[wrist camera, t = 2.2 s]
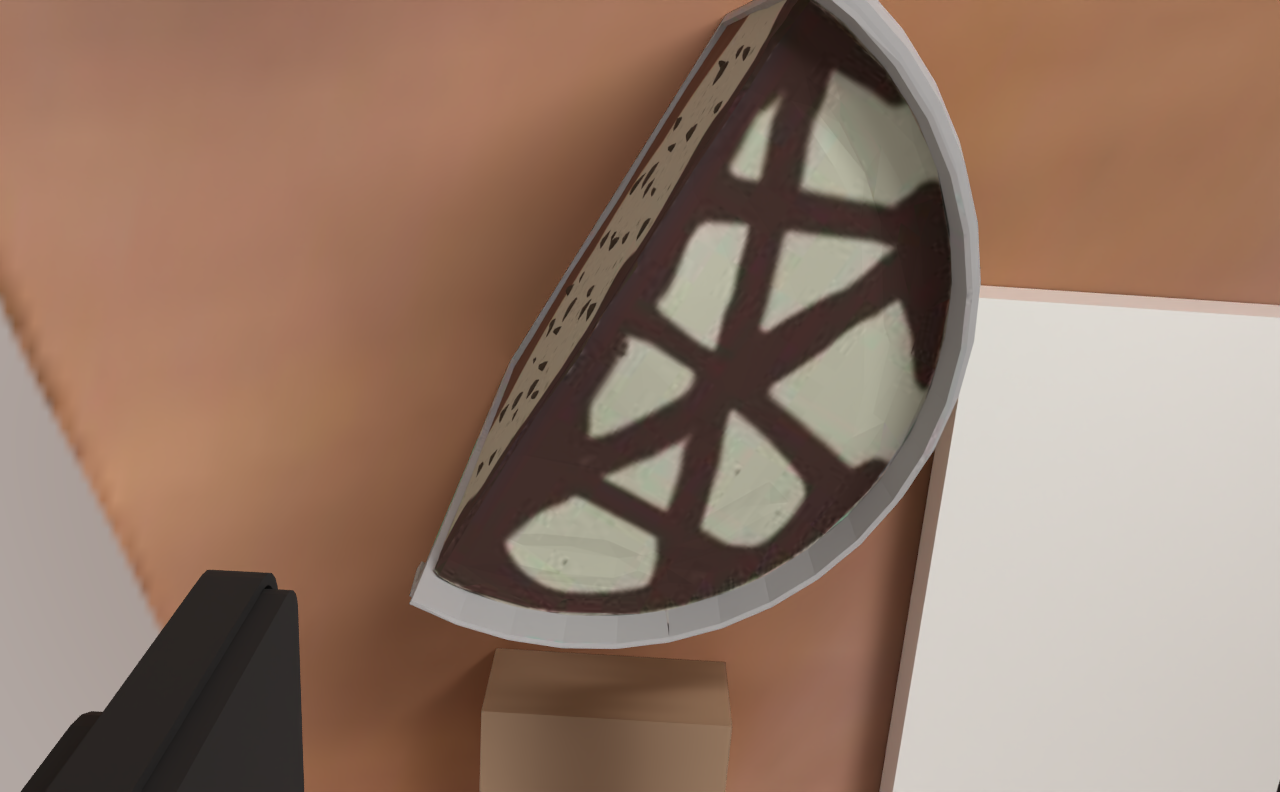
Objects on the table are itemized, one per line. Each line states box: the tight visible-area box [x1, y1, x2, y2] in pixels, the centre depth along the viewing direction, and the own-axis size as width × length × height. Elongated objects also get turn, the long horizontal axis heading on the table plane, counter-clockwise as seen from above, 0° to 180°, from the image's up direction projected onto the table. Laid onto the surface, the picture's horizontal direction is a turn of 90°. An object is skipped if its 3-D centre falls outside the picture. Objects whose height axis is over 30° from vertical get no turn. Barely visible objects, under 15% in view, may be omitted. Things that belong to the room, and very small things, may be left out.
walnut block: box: [479, 648, 732, 792], centre depth 30 cm, size 6×3×3 cm, turn 86°
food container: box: [409, 0, 981, 649], centre depth 23 cm, size 12×6×10 cm, turn 148°
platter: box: [879, 285, 1280, 792], centre depth 30 cm, size 17×16×1 cm
